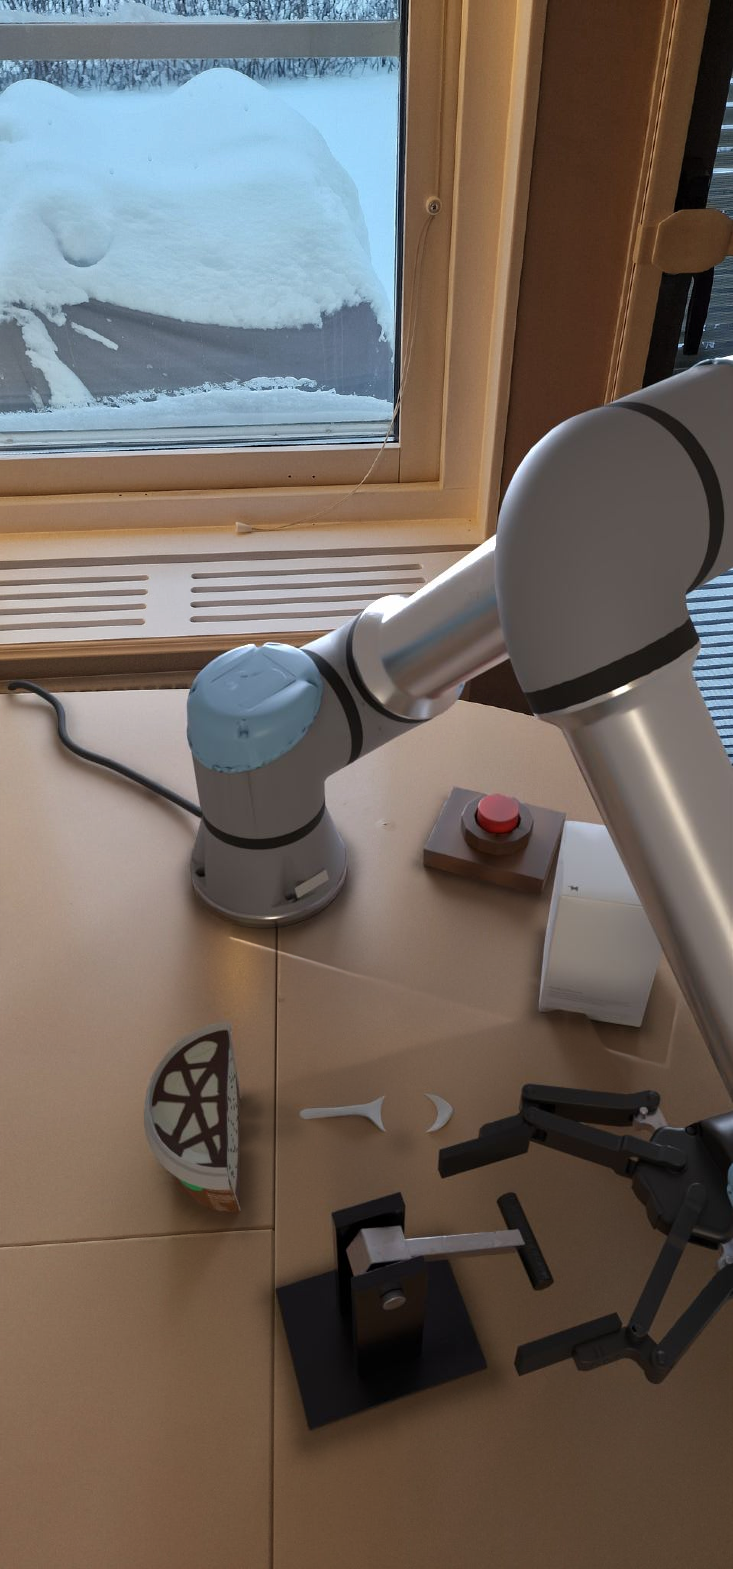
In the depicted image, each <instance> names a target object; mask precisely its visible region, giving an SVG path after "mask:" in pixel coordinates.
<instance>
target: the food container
mask: <svg viewBox="0 0 733 1569" xmlns="http://www.w3.org/2000/svg"><path fill="white" fill-rule="evenodd" d="M232 1032H233V1031H232V1026H231V1023H230V1021H228V1020H227V1021H221V1022H216V1023H215V1022H214V1023H212V1024H208V1025H206V1026H203V1027H200V1028H199V1029H195V1030H193V1031H192V1032H191V1033H189V1034H187V1035H185V1036H184V1037H182V1038H181V1039H180V1040H178V1042H176V1043H175V1044H174V1045H173V1046H172V1047H171V1048H170V1049H169V1050H168V1051H166V1053H165V1054H164V1055H163V1057H162V1058H161V1060H160V1061H159V1063H158V1064H157V1066H156V1068H155V1069H154V1071H153V1073H152V1075H151V1077H150V1079H149V1083H148V1085H147V1089H146V1092H145V1093H146V1094H145V1099H144V1106H143V1108H144V1109H143V1126H144V1131H145V1136H146V1141H147V1143H148V1145H149V1147H150V1150H151V1151H152V1154H154V1156H155V1158H156V1160H157V1161H158V1162H159V1164H161V1165H162V1166H163V1168H164V1169H165V1170H167V1171H168V1172H170V1173H171V1174H172V1175H173V1176H174V1177H175V1178H177V1179H178V1181H179V1183H180V1185H181V1186H182V1187H183V1190H184V1191H185V1192H186V1193H187V1194H188V1195H189V1196H190V1197H191V1198H192V1199H194V1200H195V1201H196V1202H197V1203H199V1204H201V1205H203V1206H205V1207H207V1208H209V1209H212V1210H216V1211H219V1212H226V1213H240V1212H241V1207H240V1192H241V1190H240V1189H241V1188H240V1186H241V1185H240V1184H241V1182H240V1181H241V1158H240V1156H241V1154H240V1153H241V1149H240V1148H241V1099H242V1096H243V1095H242V1090H241V1084H240V1078H239V1073H238V1067H237V1061H236V1054H235V1050H234V1043H233V1038H232Z"/></svg>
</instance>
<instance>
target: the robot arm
mask: <svg viewBox="0 0 733 1569" xmlns="http://www.w3.org/2000/svg"><path fill="white" fill-rule="evenodd" d="M495 532H496V533H495V534H494V535H492V536H491V537H490V538H489V539H487V540H486V541H485V542H484V543H482V544H481V545H479V546H478V547H477V548H475V549H474V550H473V551H471V552H470V553H468V554H467V555H466V556H464V557H462V558H461V559H460V560H459V561H457V562H456V563H455V564H453V565H452V566H450V567H449V568H448V569H446V570H445V571H443V572H442V573H441V574H440V575H439V576H437V577H436V578H434V579H433V580H432V581H430V582H429V583H427V584H426V585H425V586H423V587H422V588H421V589H419V590H418V591H417V592H415V593H414V594H412V595H411V594H404V593H399V594H389V595H386V596H383V597H381V598H379V599H377V600H376V601H374V602H373V603H371V604H369V606H367V607H366V608H364V610H362V611H361V612H359V613H357V615H355V616H353V617H352V618H351V619H350V620H349V621H347V622H346V623H345V624H343V625H341V626H340V627H338V628H336V629H335V630H332V631H331V632H329V633H327V634H324V635H323V636H320V637H318V638H317V639H315V640H313V641H310V642H309V643H307V644H305V645H303V646H300V647H298V648H297V647H295V646H293V645H289V644H286V643H281V642H264V644H263V645H262V646H259V647H258V646H256V644H254V643H250V644H249V643H248V644H245V645H242V646H238V647H236V648H233V649H231V650H228V651H227V652H225V653H223V654H221V655H218V656H217V657H216V658H214V659H213V660H212V661H210V662H208V663H207V665H206V666H205V667H204V668H203V669H202V670H200V672H198V674H197V675H196V677H195V678H194V680H193V682H192V684H191V686H190V687H189V691H188V695H187V701H186V721H187V722H186V723H187V724H186V725H187V726H186V740H187V744H188V747H189V749H190V751H191V759H192V764H193V771H194V778H195V783H196V790H197V796H198V802H199V806H198V805H196V803H194V802H191V801H189V800H188V799H186V798H184V797H183V796H181V795H179V794H177V793H176V792H174V791H172V790H170V789H168V788H166V787H164V786H163V785H161V784H159V783H158V782H155V781H153V780H152V779H150V778H149V777H147V776H144V775H143V774H141V773H139V772H137V771H136V770H134V769H131V768H129V767H127V766H126V765H123V764H122V763H120V762H118V761H115V760H113V759H111V758H108V757H105V756H104V755H103V756H102V755H100V754H97V753H95V752H92V751H90V750H88V749H85V748H83V747H81V746H79V745H77V744H76V743H75V742H74V741H73V740H72V739H71V738H70V737H69V735H68V732H67V726H66V724H67V723H66V711H65V708H64V705H63V704H62V702H61V701H59V699H58V698H56V697H55V695H53V694H52V693H50V692H49V691H48V690H46V689H45V688H42V687H41V686H39V685H37V684H35V683H33V682H30V681H26V680H14V681H11V682H10V683H9V684H8V685H7V690H8V691H12V692H13V691H16V690H18V689H22V690H25V691H29V692H31V693H33V694H35V695H37V696H39V697H41V698H42V699H44V700H45V701H46V702H47V703H49V704H50V705H51V706H52V707H53V709H54V710H55V714H56V725H57V726H56V728H57V729H56V730H57V735H58V738H59V740H60V741H61V743H62V744H63V745H64V746H65V748H67V749H68V751H70V752H71V753H73V754H74V755H76V756H78V757H80V758H82V759H83V760H86V761H88V762H89V761H90V762H92V763H95V764H97V765H100V766H103V767H105V768H108V769H110V770H112V771H115V772H116V773H118V774H120V775H122V776H124V777H126V778H128V779H130V780H132V781H133V782H135V783H137V784H139V785H141V786H143V787H144V788H146V789H148V790H150V791H151V792H153V793H156V794H157V795H159V796H160V797H162V798H164V799H166V800H168V801H170V802H171V803H173V804H175V805H176V806H178V807H180V808H182V809H184V810H186V811H187V812H189V813H190V814H192V815H194V816H196V817H197V818H199V819H200V822H199V825H198V828H197V831H196V836H195V839H194V843H193V847H192V850H191V855H190V861H189V862H190V863H189V868H190V876H191V882H192V886H193V890H194V892H195V894H196V896H197V898H198V900H199V901H200V902H201V903H202V905H203V906H204V907H205V908H206V909H207V910H208V911H210V913H212V914H214V915H215V916H216V917H218V918H221V919H222V920H224V921H227V922H229V923H231V924H234V925H238V926H243V927H249V928H261V929H262V928H263V929H264V928H265V929H267V928H279V927H283V926H289V925H292V924H296V923H299V922H302V921H305V920H307V919H309V918H311V917H313V916H315V915H317V914H318V913H320V912H321V911H322V910H324V909H325V908H326V907H327V906H329V905H330V904H331V903H332V901H333V900H335V898H336V897H337V896H338V894H339V893H340V892H341V889H342V888H343V886H344V883H345V880H346V876H347V866H348V865H347V849H346V845H345V843H344V839H343V837H342V835H341V833H340V832H339V830H338V829H337V826H336V824H335V822H334V819H333V817H332V814H330V810H329V809H328V807H327V805H326V786H325V784H326V783H325V782H326V780H327V779H328V778H329V777H331V776H332V775H334V774H336V773H337V772H339V771H341V770H342V769H344V768H346V767H347V766H349V765H351V764H352V763H355V762H356V761H357V760H359V759H361V758H363V757H365V756H366V755H368V754H370V753H371V752H373V751H375V750H377V749H379V748H380V747H383V745H385V744H386V745H387V743H390V742H391V741H393V740H394V739H397V738H398V737H400V736H402V735H404V734H406V733H407V732H409V731H411V730H413V729H415V728H417V727H419V726H421V725H423V724H425V723H428V722H430V721H431V720H433V719H435V718H436V717H439V716H440V715H443V714H444V713H445V712H446V711H448V710H449V709H450V708H452V706H454V705H455V703H456V702H457V701H458V700H459V698H460V696H461V695H462V693H463V690H464V688H465V685H466V682H468V681H470V680H472V679H474V678H475V677H477V676H479V675H481V674H483V673H485V672H487V671H488V670H490V669H492V668H494V667H496V666H497V665H500V664H502V663H503V662H505V661H507V660H510V663H511V666H512V669H513V672H514V675H515V678H516V680H517V682H518V684H519V686H520V688H521V691H522V692H523V694H524V696H525V699H526V700H527V703H528V705H529V708H530V710H531V712H532V714H533V715H534V718H535V719H537V720H539V721H542V722H545V723H548V724H550V725H553V726H555V727H556V728H558V729H560V731H561V733H562V734H563V737H564V739H565V741H566V743H567V745H568V748H569V750H570V752H571V754H572V757H573V758H574V761H575V763H576V765H577V767H578V769H579V771H580V774H581V776H582V778H583V781H584V782H585V785H586V788H587V789H588V791H589V793H590V796H591V798H592V800H593V802H594V804H595V807H596V809H597V811H598V814H599V815H600V818H601V819H602V822H603V825H605V826H606V828H607V830H608V833H609V835H610V837H611V839H612V841H613V844H614V846H615V848H616V850H617V852H618V854H619V857H620V859H621V861H622V863H623V865H624V867H625V870H626V872H627V874H628V876H629V878H630V881H631V883H632V885H633V887H634V889H635V891H636V894H637V896H638V898H639V900H640V902H641V904H642V907H643V909H644V911H645V913H646V915H647V918H648V920H649V922H650V924H651V926H652V928H653V931H654V933H655V935H656V937H657V939H658V941H659V944H660V946H661V948H662V952H663V954H664V957H665V959H666V962H667V964H668V965H669V967H670V969H671V972H672V974H673V976H674V979H675V981H676V983H677V985H678V988H679V989H680V991H681V993H682V996H683V998H684V1000H685V1002H686V1004H687V1007H688V1009H689V1011H690V1014H691V1015H692V1017H693V1020H694V1022H695V1024H696V1026H697V1028H698V1031H699V1033H700V1035H701V1037H702V1039H703V1041H704V1044H705V1046H706V1048H707V1051H708V1052H709V1055H710V1058H711V1059H712V1061H713V1063H714V1065H715V1068H716V1070H717V1072H718V1074H719V1077H720V1079H721V1081H722V1083H723V1085H724V1088H725V1089H726V1092H727V1093H728V1096H729V1099H730V1101H731V1103H732V1104H733V764H732V762H731V758H730V757H729V755H728V752H727V750H726V747H725V746H724V742H723V741H722V738H721V736H720V733H719V732H718V729H717V727H716V724H715V721H714V719H713V717H712V716H711V712H710V711H709V708H708V706H707V704H706V700H705V699H704V696H703V693H702V692H701V689H700V687H699V685H698V683H697V680H696V678H695V675H694V672H693V670H694V666H695V663H696V660H697V659H698V658H697V657H698V655H699V653H700V650H701V648H702V646H703V645H702V642H701V639H700V636H699V634H698V631H697V629H696V627H695V624H694V623H693V622H694V621H693V620H692V617H691V615H690V613H689V609H688V605H687V604H688V603H687V596H688V595H689V594H690V593H692V592H694V591H696V590H698V589H699V588H701V587H703V586H704V585H706V584H707V583H710V582H711V581H713V580H715V579H716V578H718V577H719V576H721V575H723V574H724V573H726V572H728V571H730V570H731V569H733V355H729V356H725V357H715V358H714V359H709V358H707V359H704V360H702V361H699V362H697V363H696V364H694V365H693V366H692V367H690V368H689V369H686V370H684V371H683V372H680V373H677V374H675V375H672V376H670V377H668V378H665V379H663V380H660V381H658V382H656V383H654V384H652V385H649V386H647V387H644V388H642V389H640V390H636V391H635V392H633V393H630V394H627V395H625V396H622V397H620V398H618V399H616V400H614V401H611V402H609V403H606V404H604V405H602V406H599V407H597V408H592V409H589V410H588V411H585V412H582V413H580V414H576V415H575V416H572V417H570V418H568V419H566V420H564V421H562V422H561V423H559V424H557V425H556V426H555V427H553V428H551V430H550V431H548V433H546V434H545V435H544V436H543V437H542V438H541V439H540V440H539V441H538V442H537V443H536V444H535V445H534V446H532V447H531V448H530V450H529V452H528V453H527V454H526V455H525V456H524V458H523V460H522V461H521V463H520V464H519V466H518V467H517V468H516V470H515V473H514V474H513V476H512V479H511V480H510V482H509V485H508V487H507V489H506V492H505V495H504V498H503V500H502V503H501V507H500V511H499V514H498V519H497V526H496V531H495ZM661 1099H662V1097H661V1094H660V1093H659V1092H658V1091H656V1090H654V1089H646V1090H641V1091H637V1092H631V1093H627V1094H626V1093H618V1092H609V1091H601V1090H593V1089H591V1090H590V1089H583V1088H574V1087H572V1088H571V1087H565V1086H557V1085H556V1086H555V1085H547V1084H539V1083H538V1084H537V1083H526V1084H524V1085H523V1086H522V1088H521V1091H520V1098H519V1104H518V1113H517V1114H514V1115H511V1116H507V1117H504V1118H501V1119H498V1120H494V1121H491V1122H487V1123H484V1124H483V1125H482V1126H481V1127H479V1128H478V1137H476V1138H472V1139H469V1140H466V1141H462V1142H460V1143H456V1144H452V1145H450V1146H446V1147H443V1148H440V1149H439V1151H438V1161H437V1162H438V1163H437V1172H438V1174H439V1175H440V1179H442V1180H443V1179H446V1178H449V1177H453V1176H457V1175H460V1174H463V1173H466V1172H469V1171H472V1170H475V1169H479V1168H482V1167H485V1166H490V1165H492V1164H496V1163H499V1162H502V1161H505V1160H508V1159H511V1158H512V1159H513V1158H514V1157H519V1156H522V1155H525V1154H528V1152H529V1147H530V1142H531V1143H533V1144H534V1143H535V1144H537V1145H540V1146H543V1147H546V1148H549V1149H553V1150H555V1151H558V1152H560V1153H564V1154H567V1155H569V1156H571V1157H576V1158H578V1159H582V1160H584V1161H587V1162H590V1163H593V1164H596V1165H599V1166H601V1167H604V1168H608V1169H611V1170H612V1171H613V1172H614V1173H615V1174H616V1175H617V1176H619V1177H623V1178H625V1179H628V1180H631V1183H632V1184H631V1187H630V1188H631V1190H632V1192H633V1194H634V1196H635V1198H636V1199H637V1200H638V1201H639V1202H640V1203H641V1205H642V1206H643V1207H644V1208H645V1213H646V1217H647V1220H648V1221H649V1224H650V1226H651V1228H652V1229H653V1230H657V1231H658V1232H660V1233H661V1234H663V1235H664V1236H666V1239H665V1241H664V1243H663V1246H662V1248H661V1250H660V1252H659V1253H658V1256H657V1259H656V1261H655V1263H654V1265H653V1268H652V1270H651V1272H650V1274H649V1276H648V1279H647V1280H646V1283H645V1286H644V1287H643V1289H642V1292H641V1294H640V1297H639V1298H638V1300H637V1303H636V1304H635V1305H636V1306H635V1308H634V1309H633V1311H632V1313H631V1316H630V1318H629V1320H628V1322H627V1325H625V1326H623V1321H622V1320H621V1318H620V1315H619V1313H618V1311H614V1312H612V1313H609V1314H606V1315H603V1316H601V1317H598V1318H595V1319H592V1320H589V1321H587V1322H584V1323H581V1324H578V1325H575V1326H572V1327H569V1328H566V1329H564V1330H560V1331H558V1332H555V1333H552V1334H549V1335H547V1336H544V1337H541V1338H537V1339H535V1340H532V1341H529V1342H526V1343H523V1344H520V1345H518V1346H517V1348H516V1353H515V1357H514V1362H513V1365H514V1368H515V1370H516V1373H517V1375H518V1377H522V1376H524V1375H527V1374H531V1373H533V1372H535V1371H539V1370H541V1369H544V1368H547V1367H550V1366H553V1365H555V1364H558V1363H561V1362H564V1361H566V1360H569V1359H572V1360H573V1362H574V1365H575V1367H576V1369H577V1371H579V1372H590V1371H593V1370H595V1369H598V1368H600V1367H602V1366H607V1365H609V1364H611V1363H614V1362H618V1361H620V1360H623V1359H629V1360H631V1361H633V1362H635V1364H637V1365H638V1367H640V1369H641V1370H642V1371H643V1373H644V1376H645V1379H646V1380H647V1381H648V1382H649V1383H651V1384H652V1385H653V1384H654V1385H660V1384H661V1383H662V1382H664V1380H665V1379H666V1378H667V1377H668V1375H669V1374H670V1373H671V1371H673V1369H674V1368H675V1367H676V1366H677V1364H678V1363H679V1362H680V1360H681V1359H682V1358H683V1357H684V1356H685V1354H686V1353H687V1352H688V1351H689V1349H690V1348H691V1347H692V1345H693V1344H694V1343H695V1341H696V1340H697V1339H698V1338H699V1337H700V1335H702V1333H703V1331H704V1330H705V1329H706V1328H707V1327H708V1325H709V1324H710V1323H711V1321H712V1320H713V1319H714V1318H715V1316H716V1315H717V1314H718V1313H719V1312H720V1311H721V1309H722V1307H724V1305H725V1304H726V1303H727V1302H728V1301H730V1300H732V1299H733V1110H729V1111H726V1112H722V1113H720V1114H717V1115H713V1116H710V1117H707V1118H703V1119H700V1120H698V1121H695V1122H693V1123H691V1124H689V1125H686V1126H683V1127H682V1126H681V1127H679V1126H678V1127H677V1126H671V1125H668V1123H667V1121H666V1119H665V1116H664V1114H663V1112H662V1111H661V1109H660V1103H661ZM591 1125H599V1126H608V1127H616V1128H617V1127H618V1128H629V1127H633V1128H634V1130H635V1131H637V1132H641V1131H647V1132H649V1133H650V1134H651V1136H650V1138H649V1139H648V1140H646V1139H643V1138H640V1137H637V1136H634V1135H631V1134H624V1135H618V1134H615V1133H612V1132H609V1131H606V1130H603V1129H600V1128H597V1127H595V1126H591ZM632 1158H636V1159H637V1160H634V1159H632ZM688 1243H689V1244H692V1245H695V1246H698V1247H702V1248H704V1249H708V1250H711V1251H718V1253H719V1257H718V1259H717V1261H716V1263H715V1265H714V1273H715V1274H714V1275H713V1276H712V1277H711V1279H709V1282H707V1284H706V1285H705V1286H704V1287H703V1288H702V1289H701V1291H700V1292H699V1293H698V1295H697V1296H696V1297H695V1298H694V1299H693V1301H692V1302H691V1303H690V1304H689V1306H688V1307H687V1308H686V1309H685V1311H683V1313H682V1314H681V1315H680V1317H679V1318H678V1319H677V1320H676V1321H675V1323H673V1325H672V1326H671V1328H670V1329H669V1330H668V1331H667V1332H666V1333H665V1335H664V1336H663V1338H661V1340H659V1342H658V1344H657V1342H656V1341H655V1340H654V1339H653V1338H652V1337H651V1336H650V1335H649V1332H650V1329H651V1327H652V1325H653V1322H654V1320H655V1317H656V1316H657V1313H658V1312H659V1309H660V1306H661V1304H662V1302H663V1301H664V1300H663V1299H664V1297H665V1295H666V1292H667V1290H668V1288H669V1286H670V1284H671V1282H672V1279H673V1277H674V1274H675V1272H676V1270H677V1267H678V1265H679V1263H680V1261H681V1258H682V1256H683V1255H684V1254H683V1253H684V1252H685V1249H686V1247H687V1245H688Z"/></svg>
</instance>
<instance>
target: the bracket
mask: <svg viewBox="0 0 733 1569" xmlns="http://www.w3.org/2000/svg"><path fill="white" fill-rule="evenodd" d="M330 1215H331V1230H332V1246H333V1247H332V1249H333V1263H334V1269H333V1270H330V1271H327V1272H324V1273H320V1274H317V1275H314V1276H312V1277H308V1278H305V1279H304V1278H303V1279H301V1280H299V1281H295V1282H292V1283H289V1284H286V1285H282V1286H280V1287H277V1288H275V1294H276V1298H277V1303H278V1307H279V1311H280V1315H281V1320H282V1323H283V1328H284V1331H285V1337H286V1341H287V1344H288V1348H289V1353H290V1357H291V1360H292V1361H291V1362H292V1365H293V1369H294V1374H295V1378H296V1381H297V1382H296V1383H297V1385H298V1386H297V1387H298V1390H299V1394H300V1398H301V1403H302V1407H303V1410H304V1415H305V1419H306V1424H307V1427H308V1428H307V1429H308V1430H309V1431H313V1430H315V1429H319V1428H322V1427H324V1426H327V1425H330V1424H334V1423H335V1422H340V1421H341V1420H344V1419H347V1418H349V1417H352V1416H355V1415H359V1414H362V1413H365V1412H367V1411H370V1410H372V1409H375V1408H379V1407H381V1406H385V1405H387V1404H389V1403H393V1402H395V1401H399V1400H401V1399H404V1398H406V1397H410V1396H412V1395H415V1394H419V1393H421V1392H424V1391H426V1390H429V1389H433V1388H435V1387H437V1386H441V1385H444V1384H447V1383H449V1382H452V1381H456V1380H458V1379H461V1378H464V1377H466V1376H470V1375H472V1374H474V1373H478V1372H481V1371H483V1370H486V1369H488V1365H487V1362H486V1359H485V1355H484V1354H483V1351H482V1348H481V1344H480V1343H479V1341H478V1337H477V1334H476V1332H475V1329H474V1326H473V1323H472V1321H471V1318H470V1316H469V1313H468V1311H467V1307H466V1305H465V1302H464V1300H463V1296H462V1294H461V1292H460V1290H459V1286H458V1284H457V1280H456V1278H455V1275H454V1273H453V1270H452V1267H451V1265H450V1262H449V1260H441V1261H431V1262H425V1260H424V1257H423V1255H419V1256H416V1257H413V1258H410V1259H406V1260H403V1261H400V1262H397V1263H394V1264H391V1265H388V1266H385V1267H382V1268H378V1269H375V1270H372V1271H369V1272H366V1273H363V1274H360V1275H357V1276H354V1275H353V1272H352V1268H351V1265H350V1262H349V1258H348V1255H347V1252H346V1249H347V1248H348V1246H349V1245H350V1243H351V1242H352V1241H353V1239H354V1238H355V1236H356V1235H357V1234H358V1232H359V1231H360V1229H362V1228H373V1227H385V1226H397V1225H400V1226H401V1228H402V1231H403V1234H404V1235H405V1229H406V1228H405V1227H406V1202H405V1201H404V1198H403V1195H402V1192H401V1191H397V1192H394V1193H391V1194H387V1195H385V1196H381V1197H377V1198H375V1199H371V1200H368V1201H364V1202H361V1203H358V1204H355V1205H352V1206H348V1207H344V1208H342V1209H337V1210H335V1211H332V1212H331V1213H330Z"/></svg>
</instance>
